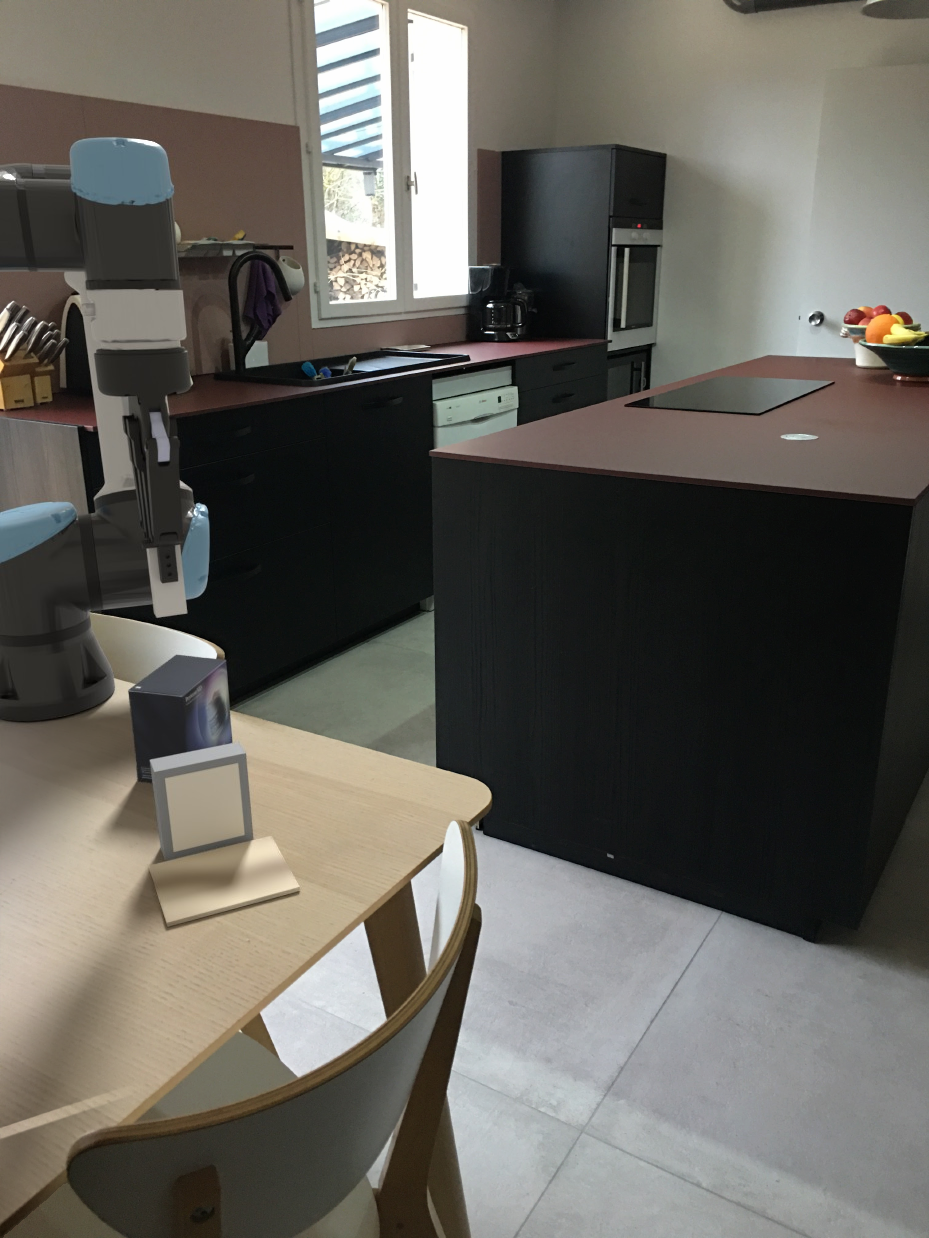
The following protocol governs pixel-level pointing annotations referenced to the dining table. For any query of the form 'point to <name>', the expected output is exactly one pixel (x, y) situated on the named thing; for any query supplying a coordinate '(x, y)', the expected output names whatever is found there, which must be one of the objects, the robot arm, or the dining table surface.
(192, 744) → the small box
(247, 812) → the grey square slab
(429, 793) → the dining table surface
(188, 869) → the cork mat
